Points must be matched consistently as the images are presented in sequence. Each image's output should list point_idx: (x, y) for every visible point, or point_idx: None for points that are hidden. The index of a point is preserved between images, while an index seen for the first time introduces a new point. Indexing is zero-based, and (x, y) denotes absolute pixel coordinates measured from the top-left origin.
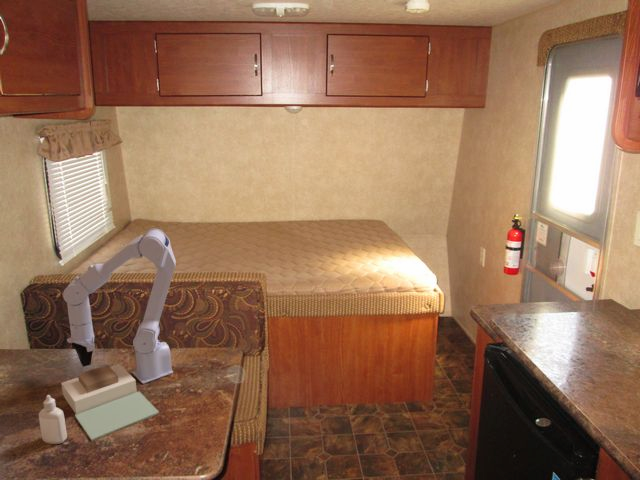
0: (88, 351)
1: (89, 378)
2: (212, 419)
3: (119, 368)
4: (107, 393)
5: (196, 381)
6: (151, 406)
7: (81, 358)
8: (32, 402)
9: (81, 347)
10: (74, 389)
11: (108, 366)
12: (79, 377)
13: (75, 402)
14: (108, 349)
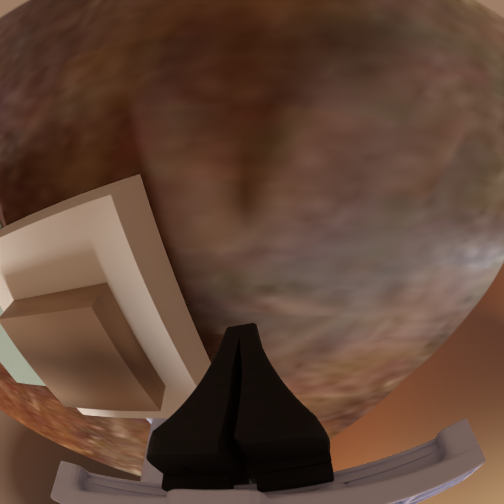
0: (62, 464)
1: (46, 339)
2: (16, 414)
3: (173, 411)
4: None
5: (126, 450)
6: (31, 381)
7: (208, 373)
8: (145, 40)
9: (157, 467)
10: (35, 256)
11: (142, 410)
12: (76, 303)
13: None
14: (436, 347)
